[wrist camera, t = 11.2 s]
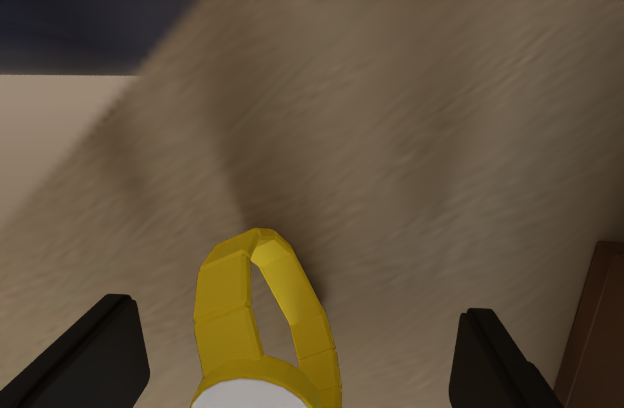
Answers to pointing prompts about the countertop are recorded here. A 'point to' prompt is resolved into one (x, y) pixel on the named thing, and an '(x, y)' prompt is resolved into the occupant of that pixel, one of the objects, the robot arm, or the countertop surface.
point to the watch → (245, 337)
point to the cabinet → (597, 337)
